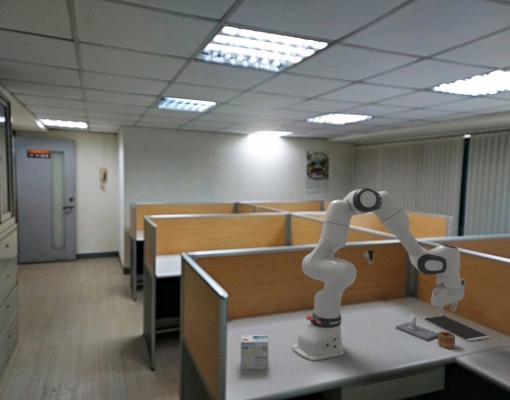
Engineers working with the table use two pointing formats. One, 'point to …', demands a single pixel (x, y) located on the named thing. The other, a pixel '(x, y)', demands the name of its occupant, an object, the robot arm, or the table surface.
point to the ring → (446, 340)
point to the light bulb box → (254, 352)
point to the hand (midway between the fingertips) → (447, 313)
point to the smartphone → (456, 328)
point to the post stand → (417, 330)
